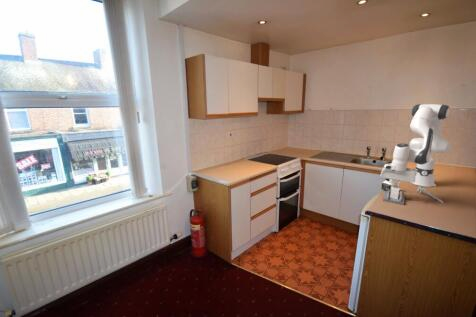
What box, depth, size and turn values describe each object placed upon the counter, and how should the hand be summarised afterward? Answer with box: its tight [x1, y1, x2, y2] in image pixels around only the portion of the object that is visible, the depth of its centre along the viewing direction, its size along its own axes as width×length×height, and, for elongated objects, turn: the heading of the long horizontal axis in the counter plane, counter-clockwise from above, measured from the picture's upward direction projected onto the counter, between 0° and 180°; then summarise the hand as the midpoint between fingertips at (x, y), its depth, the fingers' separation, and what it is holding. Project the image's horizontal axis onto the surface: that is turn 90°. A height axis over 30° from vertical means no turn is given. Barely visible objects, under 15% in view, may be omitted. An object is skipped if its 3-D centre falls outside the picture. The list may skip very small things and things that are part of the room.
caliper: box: [417, 185, 445, 204], centre depth 164 cm, size 20×1×6 cm, turn 5°
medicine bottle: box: [380, 178, 396, 192], centre depth 175 cm, size 7×7×12 cm
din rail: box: [386, 189, 403, 202], centre depth 162 cm, size 18×8×2 cm, turn 144°
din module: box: [390, 185, 400, 199], centre depth 161 cm, size 8×4×7 cm, turn 144°
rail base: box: [382, 191, 405, 206], centre depth 162 cm, size 18×12×2 cm, turn 144°
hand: (395, 185), depth 160 cm, fingers closed
